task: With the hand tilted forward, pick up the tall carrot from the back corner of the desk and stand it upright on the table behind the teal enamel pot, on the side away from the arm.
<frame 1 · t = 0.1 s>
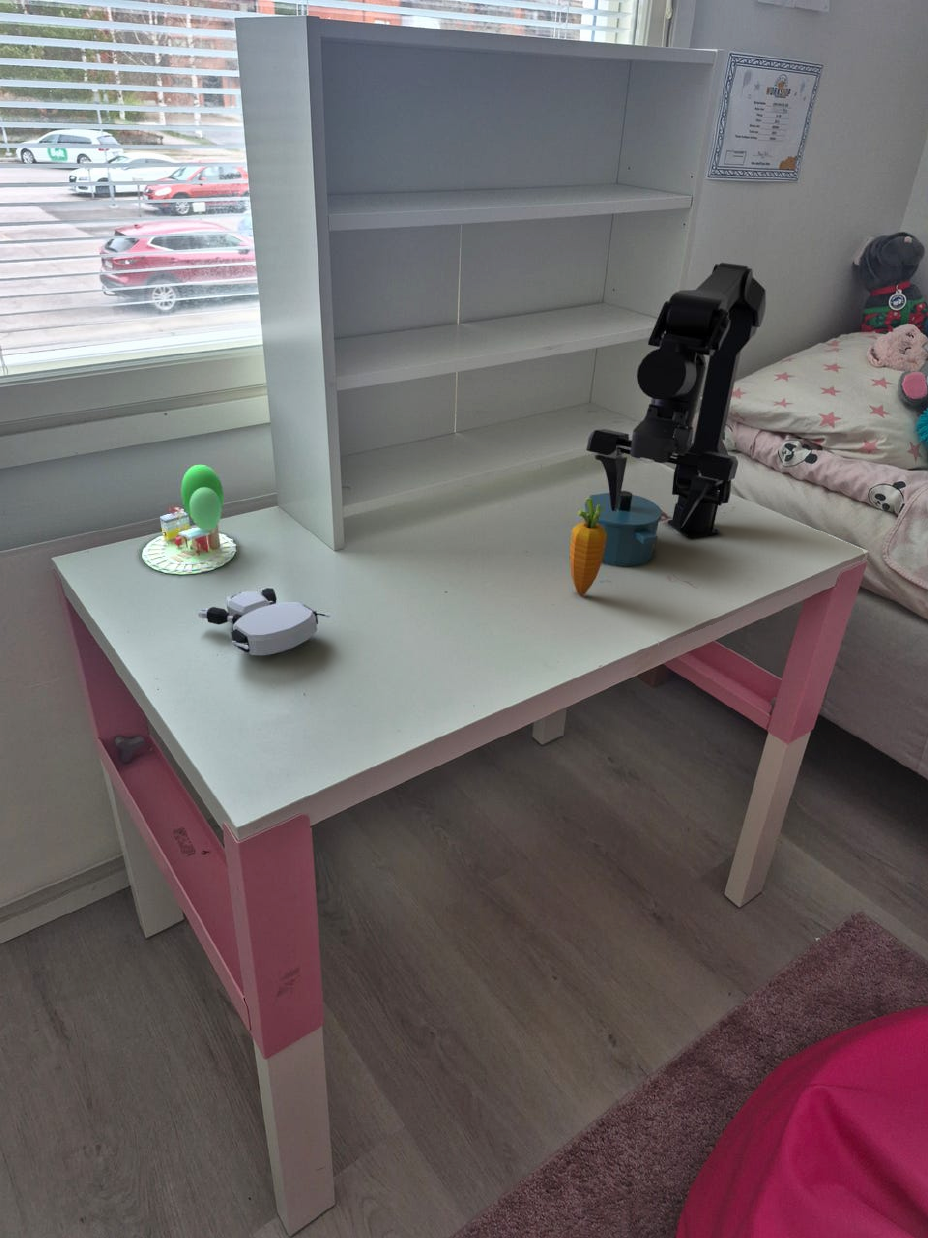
hand: (646, 518, 115), 15 cm above the table, tool pointing down, fingers open, 9 cm apart
carrot: (580, 596, 128), on the table
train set: (190, 552, 133), on the table
pot lid: (622, 510, 137), point 7 cm above the table, touching pot
robot toy: (263, 636, 114), on the table
pot: (616, 549, 141), on the table
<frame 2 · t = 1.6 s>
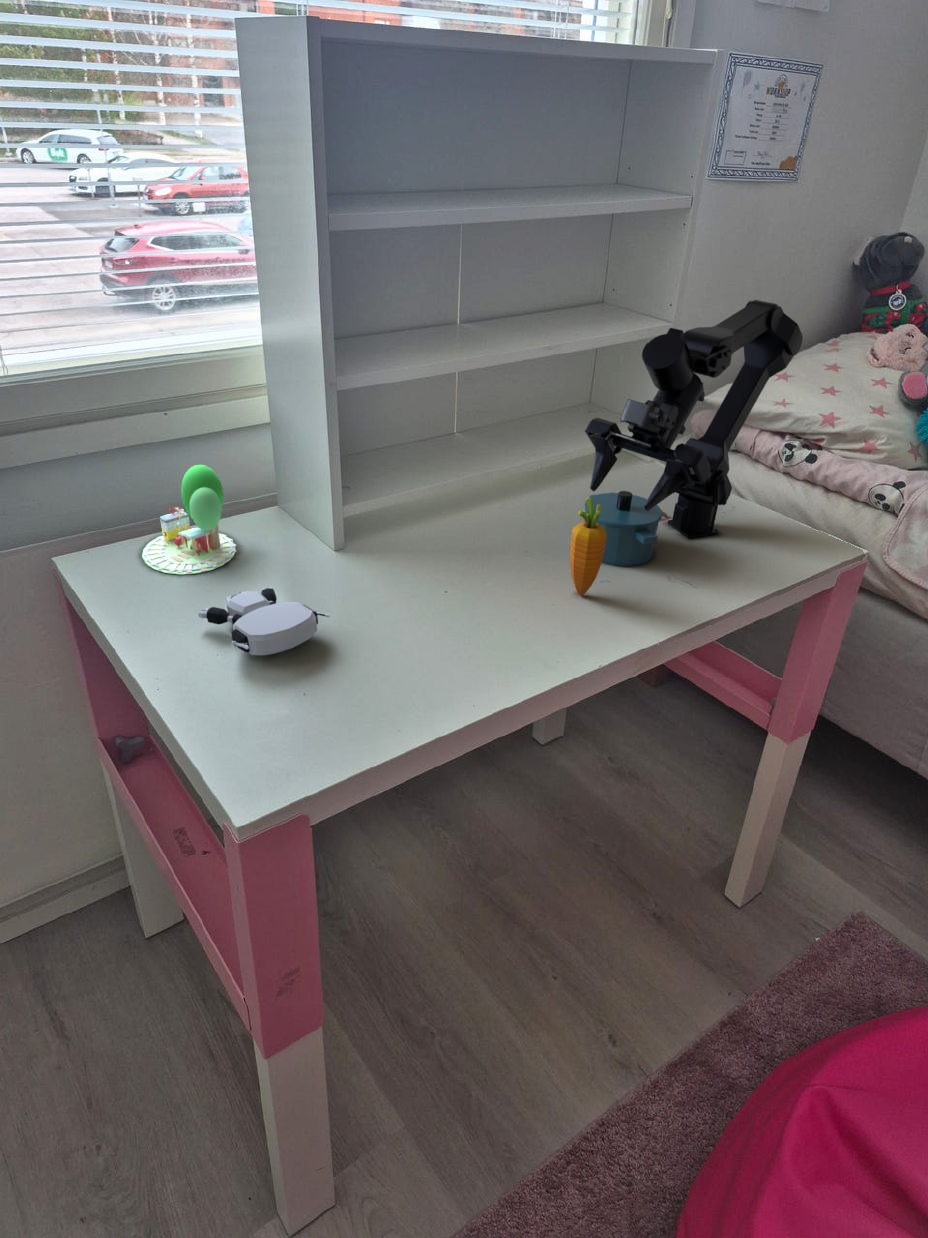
hand: (618, 499, 125), 13 cm above the table, tool tilted 45°, fingers open, 9 cm apart
nothing on the table moved.
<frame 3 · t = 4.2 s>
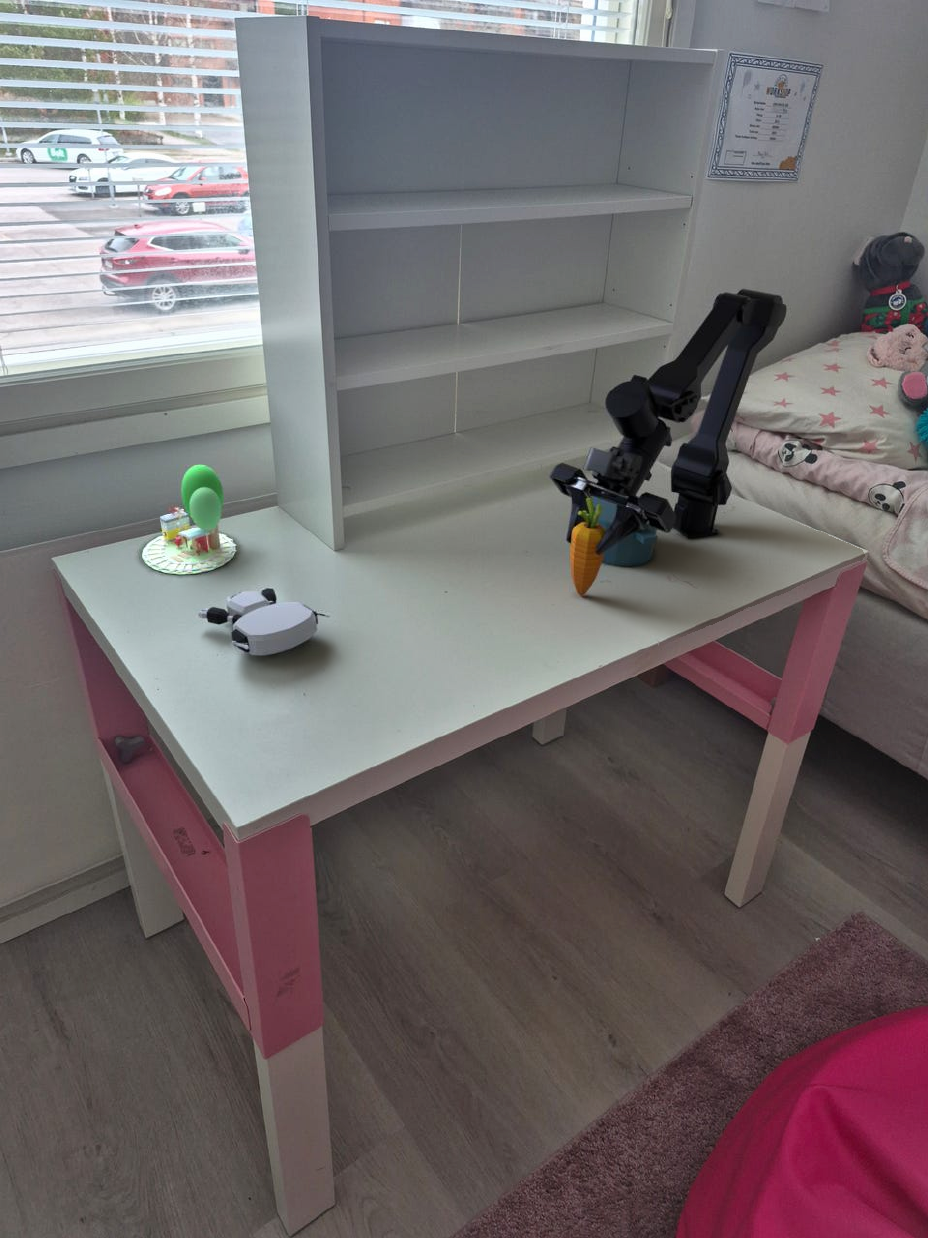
hand: (582, 547, 122), 8 cm above the table, tool tilted 45°, fingers closed on carrot, 5 cm apart
carrot: (580, 596, 128), on the table, touching gripper
everything else where it was.
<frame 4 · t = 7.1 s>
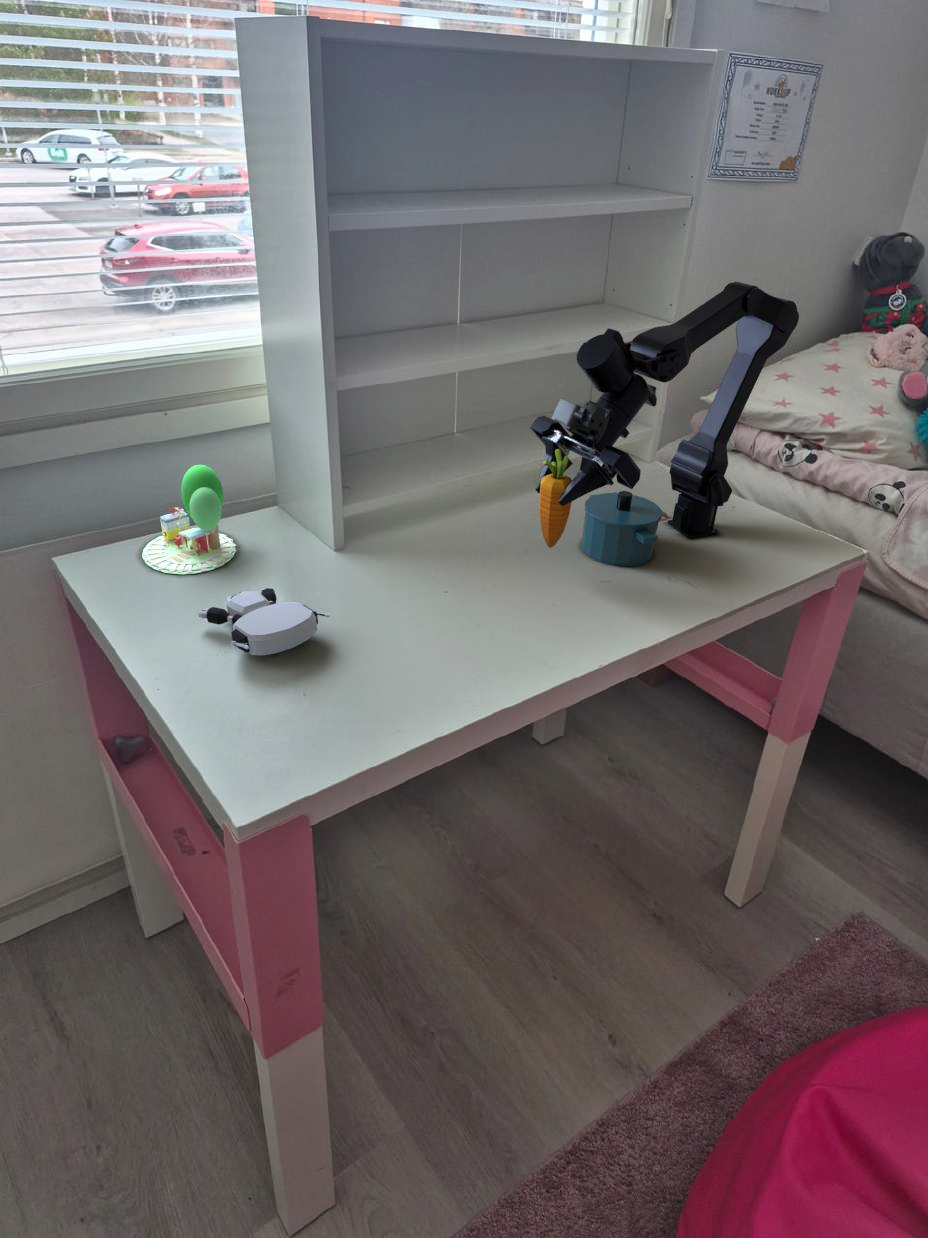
hand: (548, 497, 124), 13 cm above the table, tool tilted 45°, fingers closed on carrot, 5 cm apart
carrot: (550, 548, 130), point 5 cm above the table, touching gripper
everything else where it was.
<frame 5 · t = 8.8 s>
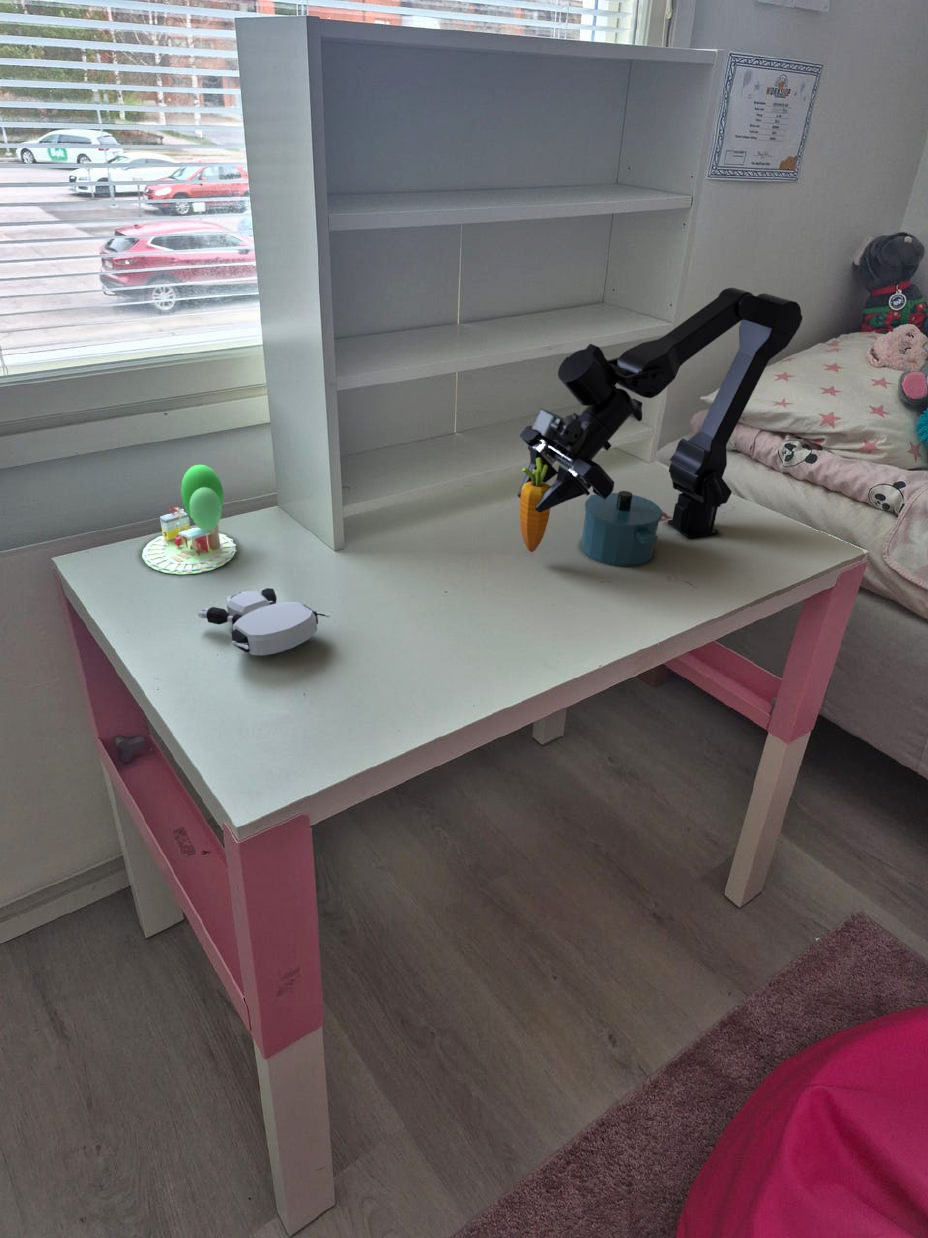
hand: (528, 504, 129), 10 cm above the table, tool tilted 45°, fingers closed on carrot, 5 cm apart
carrot: (531, 553, 135), point 2 cm above the table, touching gripper
everything else where it was.
when the fingers open (8 cm above the table, at t = 9.8 s): carrot stays where it is, on the table.
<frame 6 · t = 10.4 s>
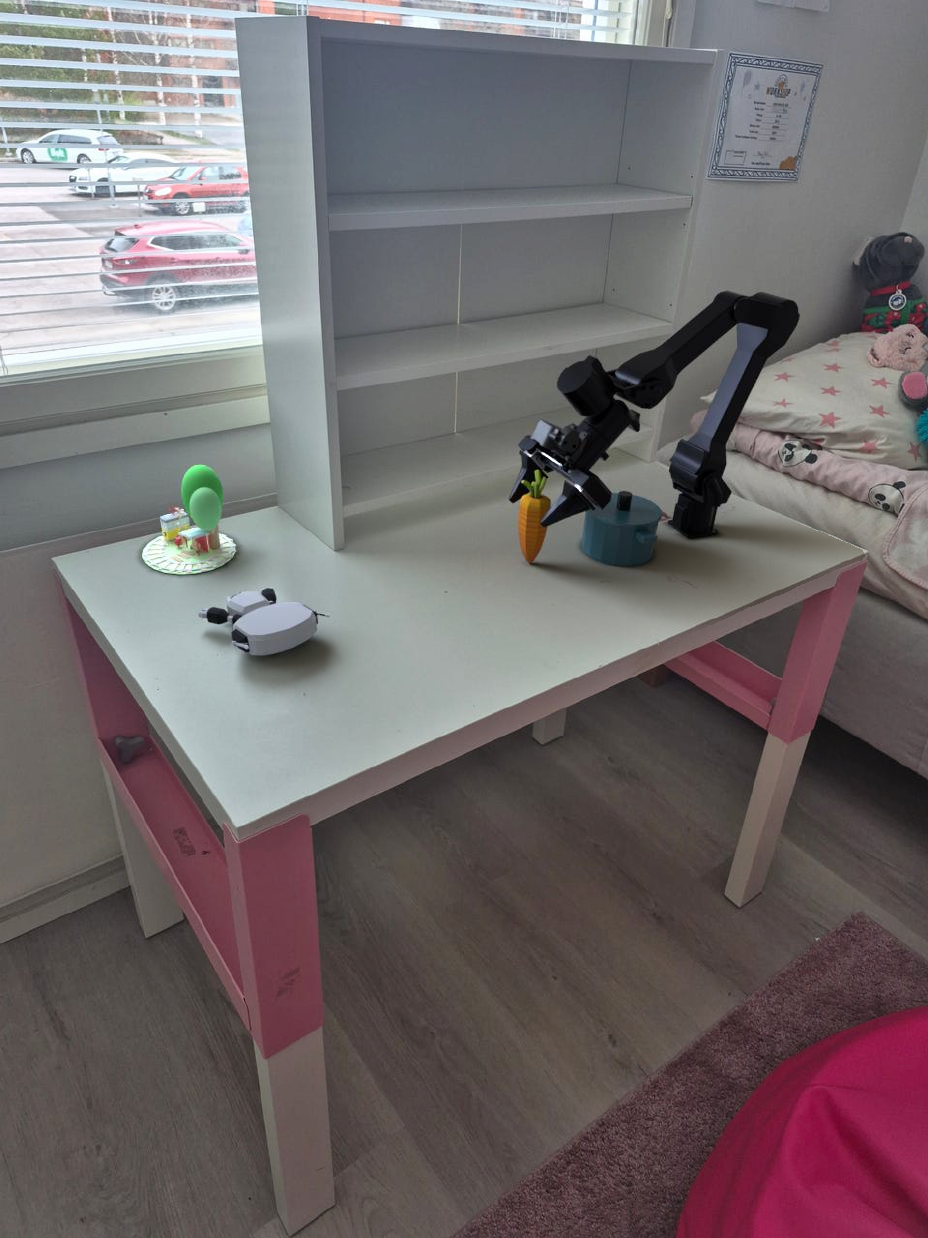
hand: (525, 513, 130), 9 cm above the table, tool tilted 45°, fingers open, 9 cm apart
carrot: (529, 564, 135), on the table
everything else where it was.
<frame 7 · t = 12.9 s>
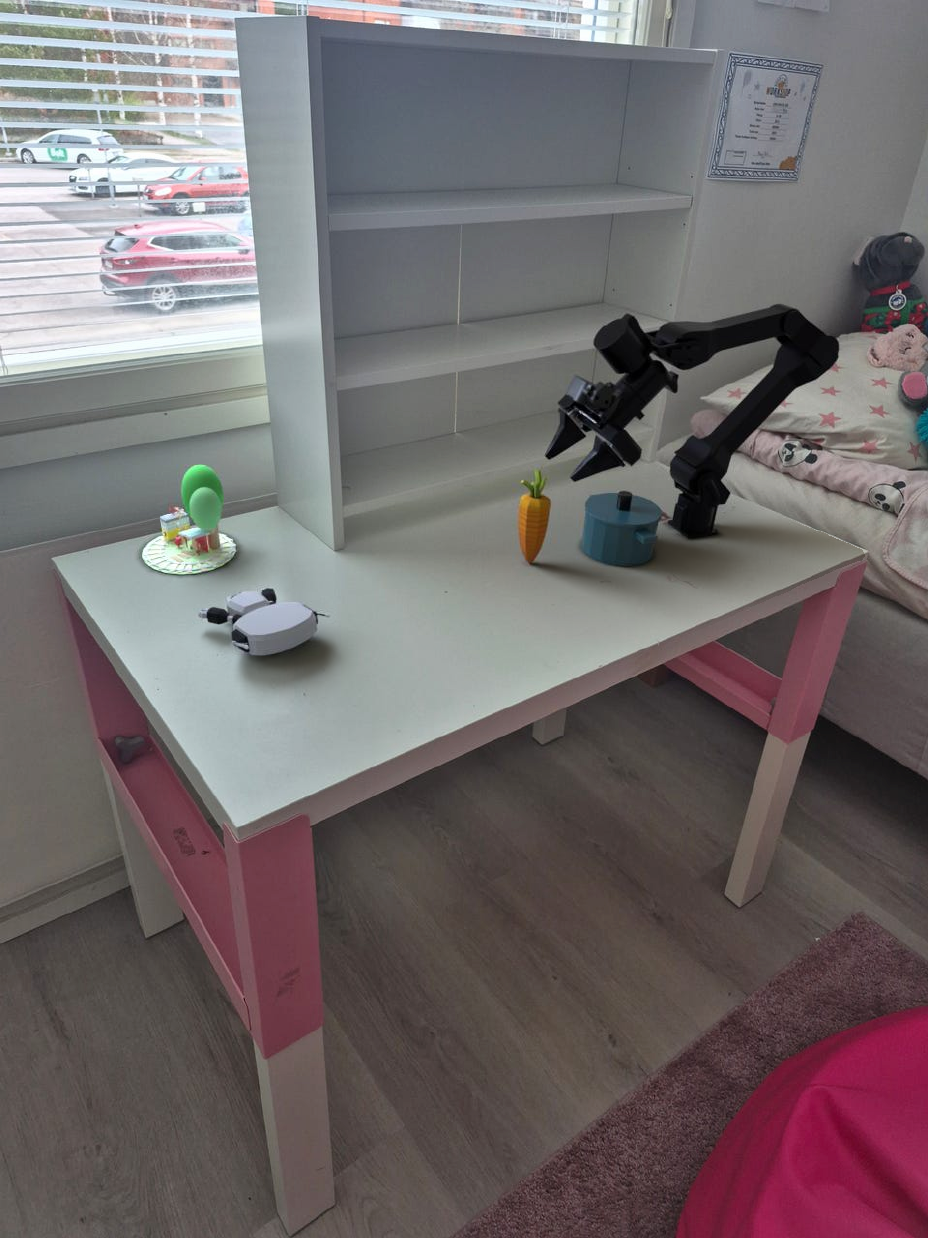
hand: (559, 468, 133), 14 cm above the table, tool tilted 45°, fingers open, 9 cm apart
nothing on the table moved.
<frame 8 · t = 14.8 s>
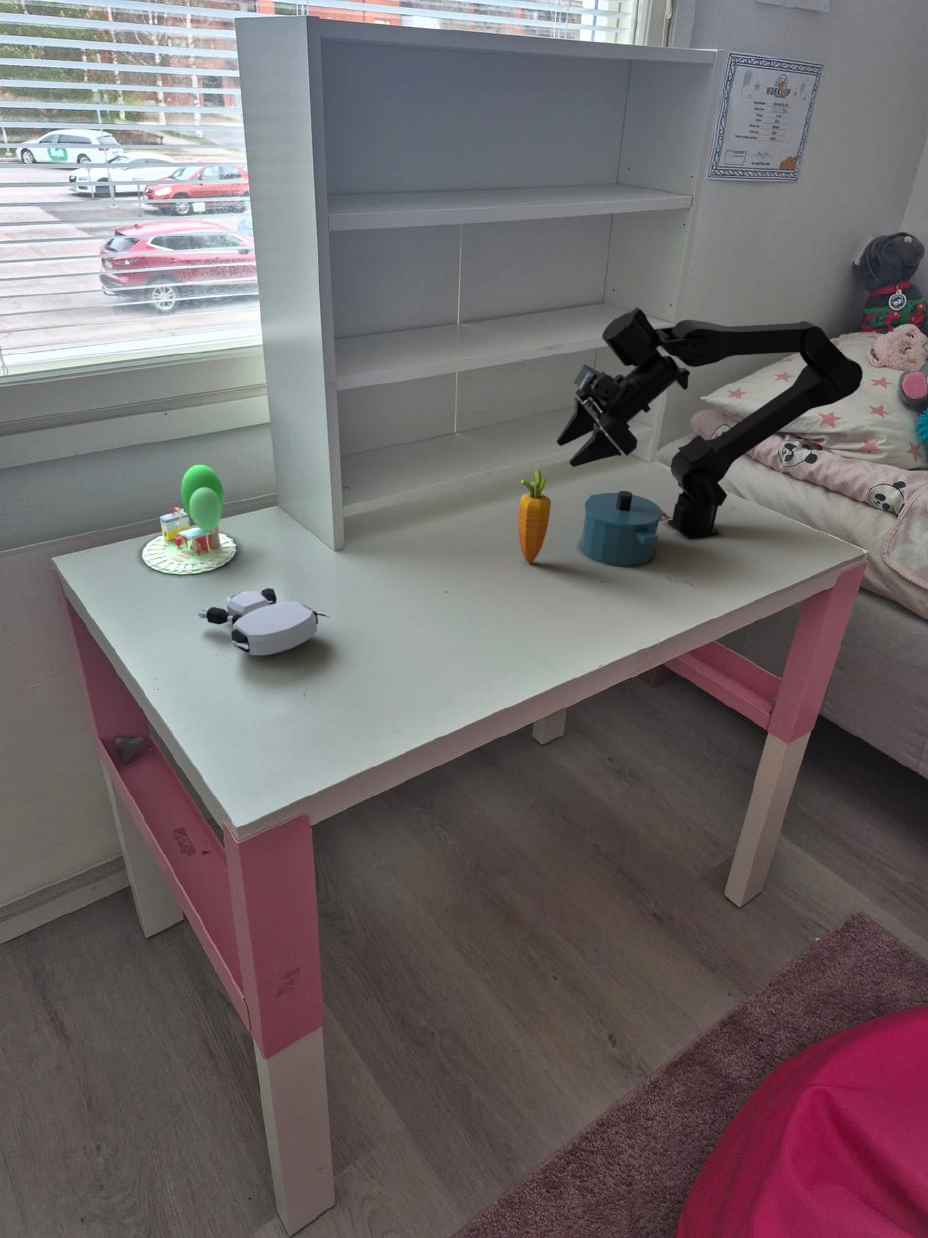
hand: (564, 453, 139), 14 cm above the table, tool tilted 45°, fingers open, 9 cm apart
nothing on the table moved.
at the end: carrot inside the target area on the table beside the pot (0.2 cm from its centre), on the table; carrot tilted 0°; the gripper is holding nothing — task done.
